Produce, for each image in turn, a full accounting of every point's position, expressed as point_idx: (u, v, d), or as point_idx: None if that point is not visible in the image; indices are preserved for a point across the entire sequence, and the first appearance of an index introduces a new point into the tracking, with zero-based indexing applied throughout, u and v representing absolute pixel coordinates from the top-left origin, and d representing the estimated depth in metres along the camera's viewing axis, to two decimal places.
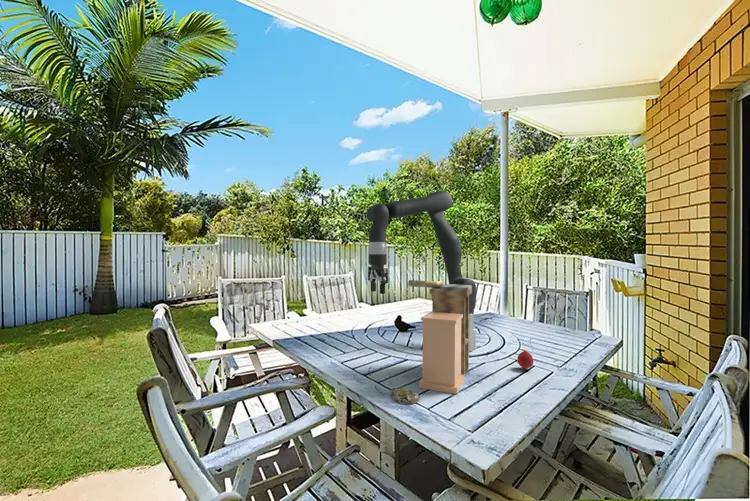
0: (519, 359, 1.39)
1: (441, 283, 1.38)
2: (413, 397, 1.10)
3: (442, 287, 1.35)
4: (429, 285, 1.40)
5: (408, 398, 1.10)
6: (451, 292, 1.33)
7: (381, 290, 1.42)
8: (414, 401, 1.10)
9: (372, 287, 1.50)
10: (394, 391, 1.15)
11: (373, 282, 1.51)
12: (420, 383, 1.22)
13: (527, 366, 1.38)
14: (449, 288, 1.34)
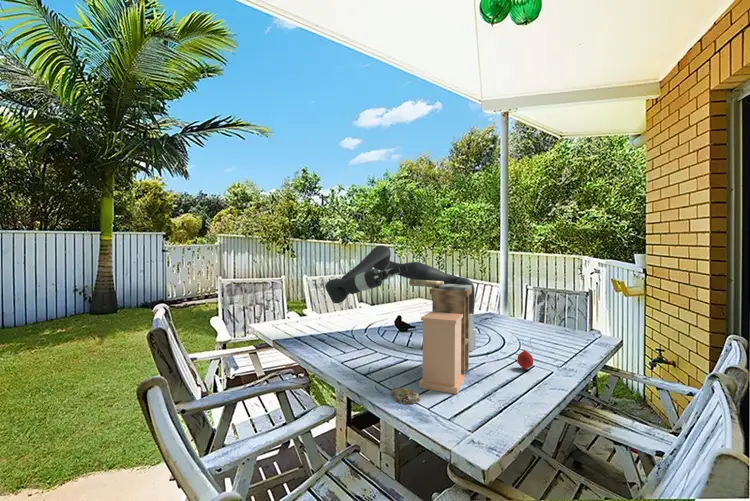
0: (519, 359, 1.39)
1: (440, 283, 1.40)
2: (414, 397, 1.10)
3: (440, 287, 1.36)
4: (429, 284, 1.42)
5: (409, 398, 1.10)
6: (451, 292, 1.33)
7: (396, 272, 1.38)
8: (415, 401, 1.10)
9: (403, 270, 1.47)
10: (395, 391, 1.15)
11: None
12: (420, 383, 1.22)
13: (527, 366, 1.38)
14: (447, 288, 1.35)
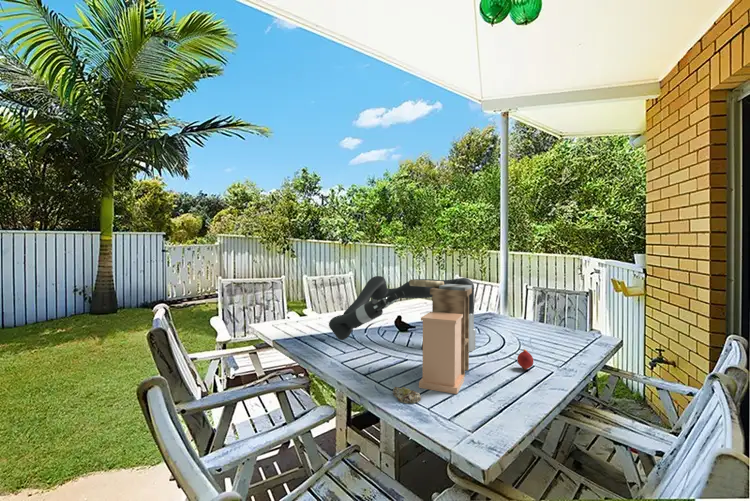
0: (519, 359, 1.39)
1: (440, 283, 1.40)
2: (415, 396, 1.10)
3: (440, 287, 1.36)
4: (429, 284, 1.42)
5: (410, 397, 1.10)
6: (451, 292, 1.33)
7: (393, 299, 1.42)
8: (416, 400, 1.10)
9: (400, 296, 1.50)
10: (396, 390, 1.15)
11: None
12: (420, 383, 1.22)
13: (527, 366, 1.38)
14: (447, 288, 1.35)
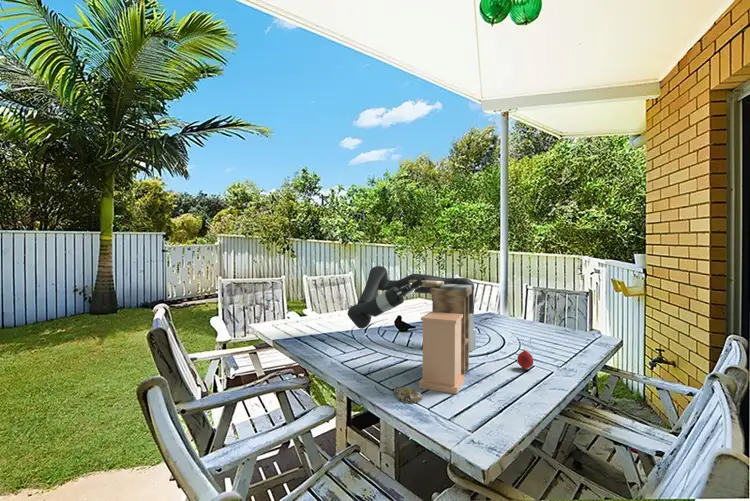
0: (519, 359, 1.39)
1: (441, 283, 1.39)
2: (416, 396, 1.11)
3: (441, 287, 1.36)
4: (429, 285, 1.41)
5: (411, 397, 1.11)
6: (451, 292, 1.33)
7: (419, 284, 1.39)
8: (417, 400, 1.11)
9: None
10: (397, 390, 1.15)
11: None
12: (420, 383, 1.22)
13: (527, 366, 1.38)
14: (448, 288, 1.34)
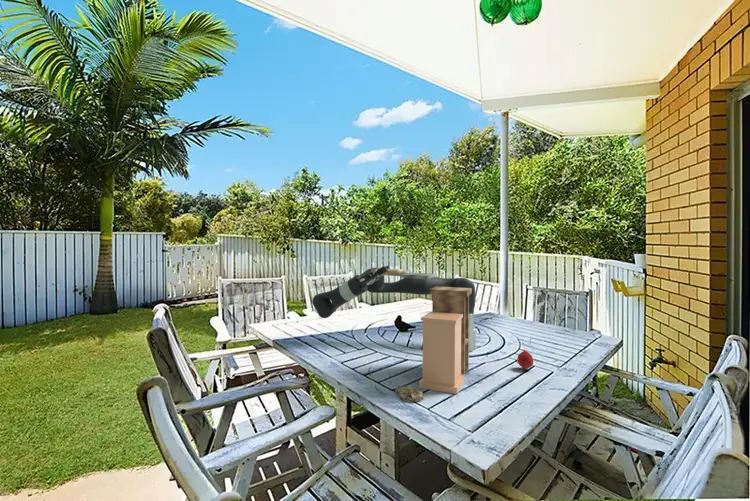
0: (519, 359, 1.39)
1: (403, 271, 1.33)
2: (417, 395, 1.11)
3: (402, 275, 1.30)
4: (391, 273, 1.35)
5: (412, 396, 1.11)
6: (451, 292, 1.33)
7: (383, 271, 1.35)
8: (418, 399, 1.11)
9: None
10: (399, 389, 1.16)
11: None
12: (420, 383, 1.22)
13: (527, 366, 1.38)
14: (409, 276, 1.28)
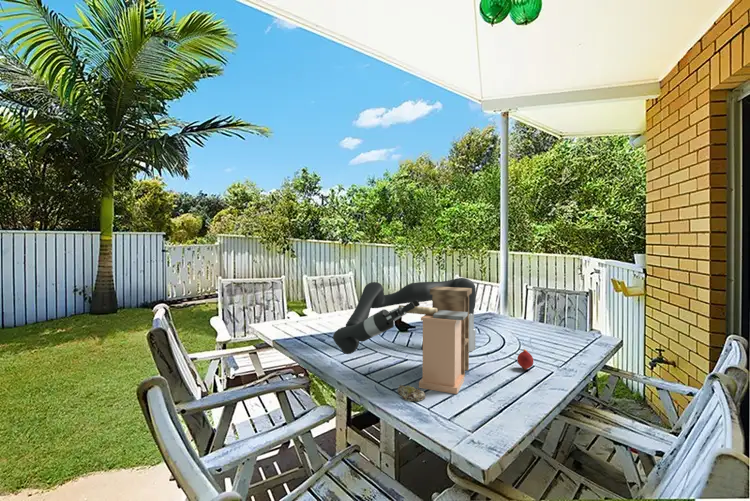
0: (519, 359, 1.39)
1: (434, 310, 1.25)
2: (419, 395, 1.12)
3: (435, 315, 1.22)
4: (421, 312, 1.27)
5: (414, 395, 1.12)
6: (451, 292, 1.33)
7: (410, 308, 1.26)
8: (420, 399, 1.12)
9: (414, 305, 1.32)
10: (401, 388, 1.17)
11: None
12: (420, 383, 1.22)
13: (527, 366, 1.38)
14: (443, 316, 1.20)
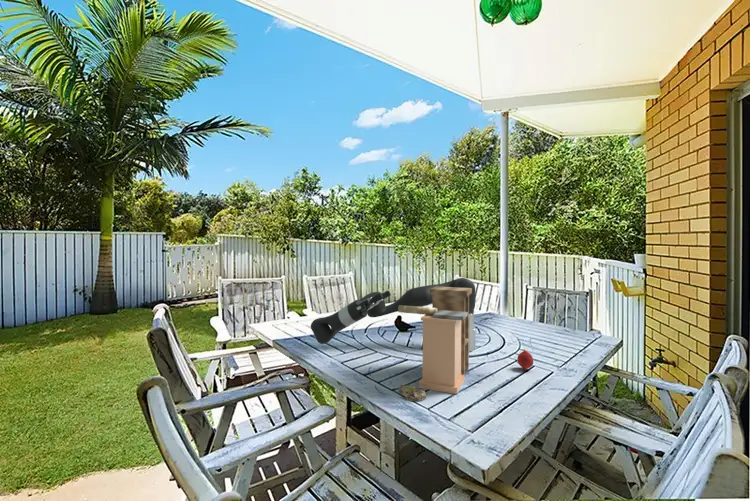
0: (519, 359, 1.39)
1: (434, 310, 1.25)
2: (420, 394, 1.12)
3: (435, 315, 1.22)
4: (421, 312, 1.27)
5: (415, 395, 1.12)
6: (451, 292, 1.33)
7: (378, 299, 1.32)
8: (421, 398, 1.12)
9: (386, 296, 1.40)
10: (402, 388, 1.17)
11: (381, 297, 1.41)
12: (420, 383, 1.22)
13: (527, 366, 1.38)
14: (443, 316, 1.20)
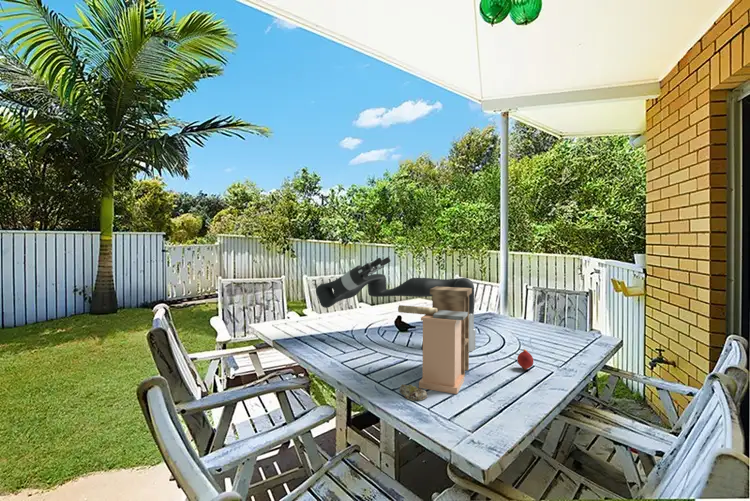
0: (519, 359, 1.39)
1: (434, 310, 1.25)
2: (421, 394, 1.12)
3: (435, 315, 1.22)
4: (421, 312, 1.27)
5: (416, 395, 1.12)
6: (451, 292, 1.33)
7: (378, 263, 1.41)
8: (422, 398, 1.12)
9: (386, 262, 1.49)
10: (403, 388, 1.17)
11: (381, 263, 1.50)
12: (420, 383, 1.22)
13: (527, 366, 1.38)
14: (443, 316, 1.20)
